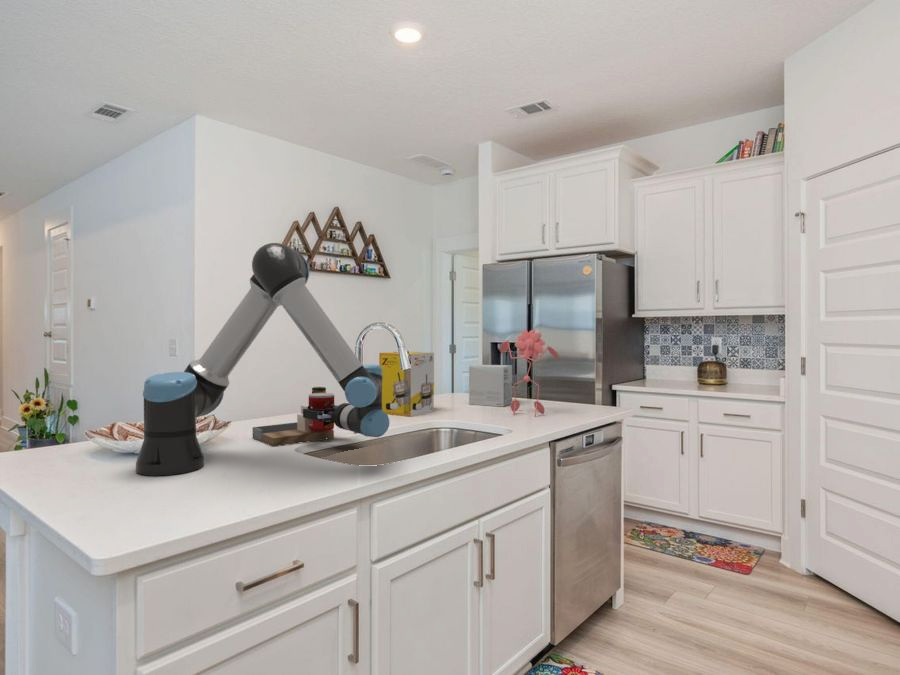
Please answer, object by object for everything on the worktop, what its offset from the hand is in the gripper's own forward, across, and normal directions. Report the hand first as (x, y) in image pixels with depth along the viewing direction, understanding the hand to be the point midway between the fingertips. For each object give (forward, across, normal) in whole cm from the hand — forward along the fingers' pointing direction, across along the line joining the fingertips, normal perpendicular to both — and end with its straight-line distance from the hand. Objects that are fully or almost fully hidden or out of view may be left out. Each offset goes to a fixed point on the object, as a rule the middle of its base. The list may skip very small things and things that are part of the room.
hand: (314, 408), depth 179 cm
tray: (+8, -6, -9) cm, 13 cm away
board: (0, -6, -9) cm, 11 cm away
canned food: (-5, 0, -6) cm, 8 cm away
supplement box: (+22, +100, -10) cm, 103 cm away
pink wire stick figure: (-9, +92, -10) cm, 93 cm away
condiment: (+34, +18, -10) cm, 40 cm away
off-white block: (+1, -2, -7) cm, 7 cm away
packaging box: (+25, +54, -10) cm, 61 cm away
